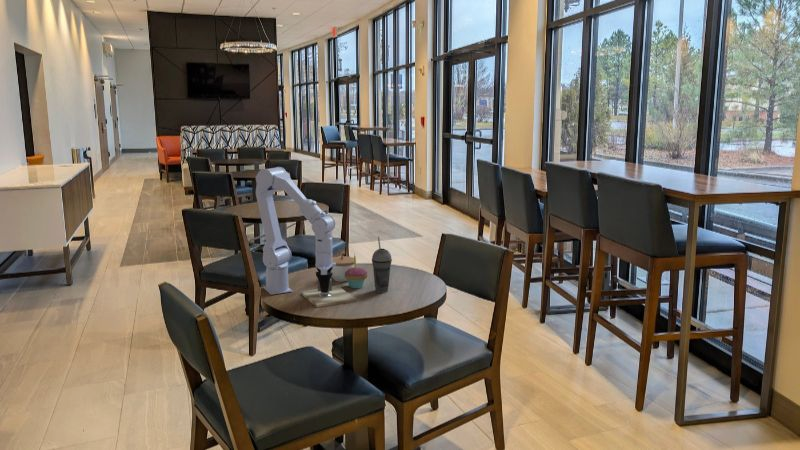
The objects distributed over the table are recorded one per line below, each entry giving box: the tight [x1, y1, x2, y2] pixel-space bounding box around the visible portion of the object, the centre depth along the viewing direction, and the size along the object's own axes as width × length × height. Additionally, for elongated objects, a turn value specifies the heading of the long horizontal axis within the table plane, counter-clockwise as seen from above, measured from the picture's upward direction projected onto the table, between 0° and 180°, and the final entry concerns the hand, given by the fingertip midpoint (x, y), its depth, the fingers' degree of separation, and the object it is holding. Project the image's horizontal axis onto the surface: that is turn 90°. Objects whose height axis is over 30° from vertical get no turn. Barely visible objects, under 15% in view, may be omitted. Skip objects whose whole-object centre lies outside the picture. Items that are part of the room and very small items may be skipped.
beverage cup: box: [371, 236, 393, 294], centre depth 210 cm, size 7×7×20 cm
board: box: [300, 285, 357, 308], centre depth 204 cm, size 16×14×1 cm
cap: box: [317, 278, 333, 292], centre depth 203 cm, size 5×6×4 cm
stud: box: [319, 291, 331, 297], centre depth 204 cm, size 4×4×2 cm
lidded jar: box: [331, 254, 354, 282], centre depth 225 cm, size 11×11×9 cm
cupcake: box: [345, 253, 368, 289], centre depth 216 cm, size 9×8×12 cm
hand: (324, 289), depth 203 cm, fingers closed on cap, 6 cm apart
